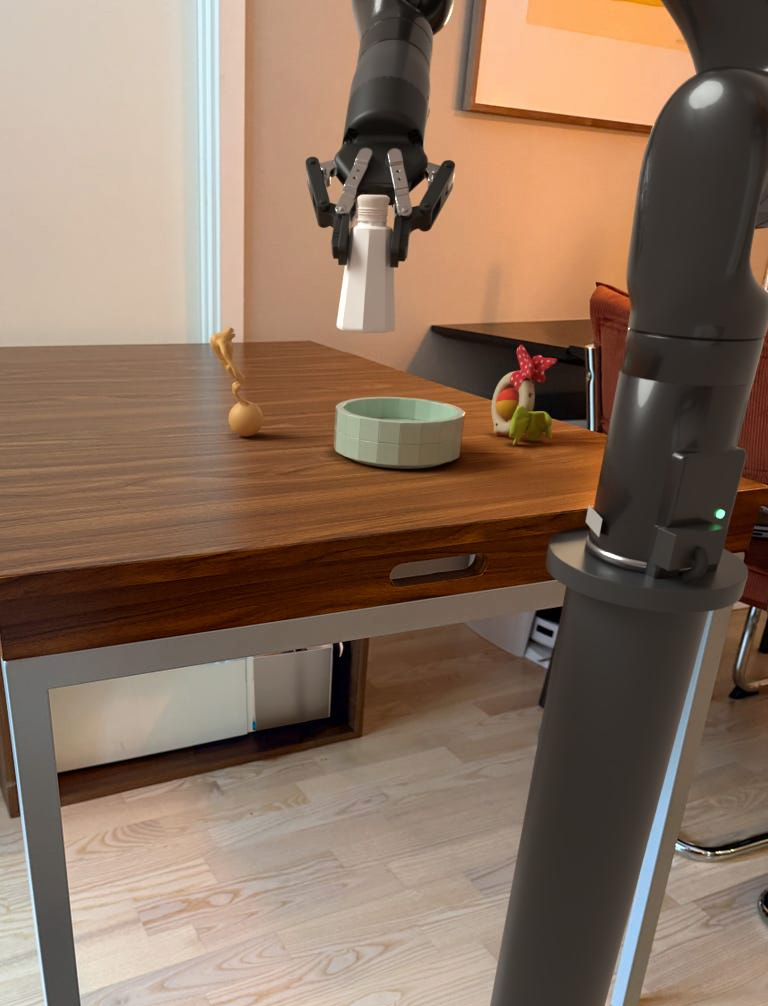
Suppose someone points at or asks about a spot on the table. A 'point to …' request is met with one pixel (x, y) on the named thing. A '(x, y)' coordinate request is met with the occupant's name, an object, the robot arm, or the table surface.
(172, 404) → the table surface
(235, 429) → the figurine
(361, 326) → the pepper shaker
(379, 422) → the bowl
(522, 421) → the bird rattle
